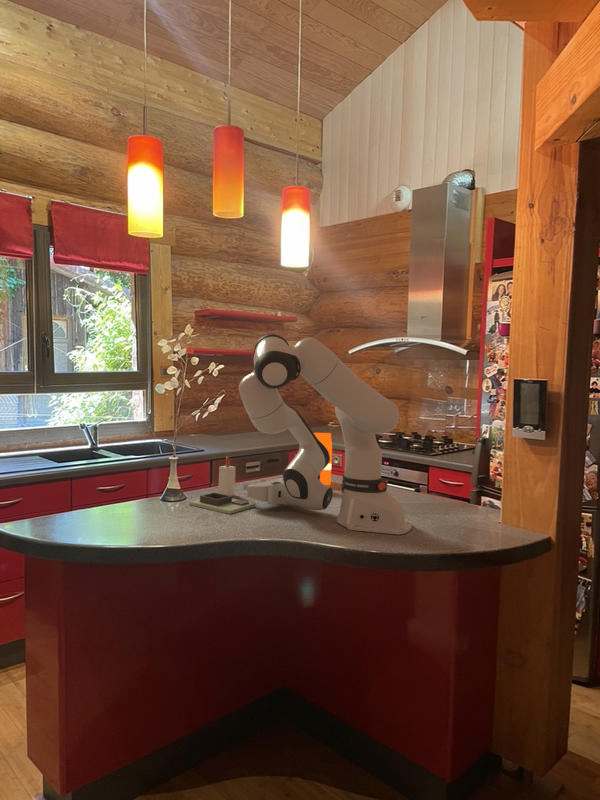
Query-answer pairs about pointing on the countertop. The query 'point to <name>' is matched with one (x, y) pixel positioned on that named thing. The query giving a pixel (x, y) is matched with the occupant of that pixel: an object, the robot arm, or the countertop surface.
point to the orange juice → (326, 441)
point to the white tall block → (226, 479)
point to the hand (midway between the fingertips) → (253, 484)
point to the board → (221, 503)
